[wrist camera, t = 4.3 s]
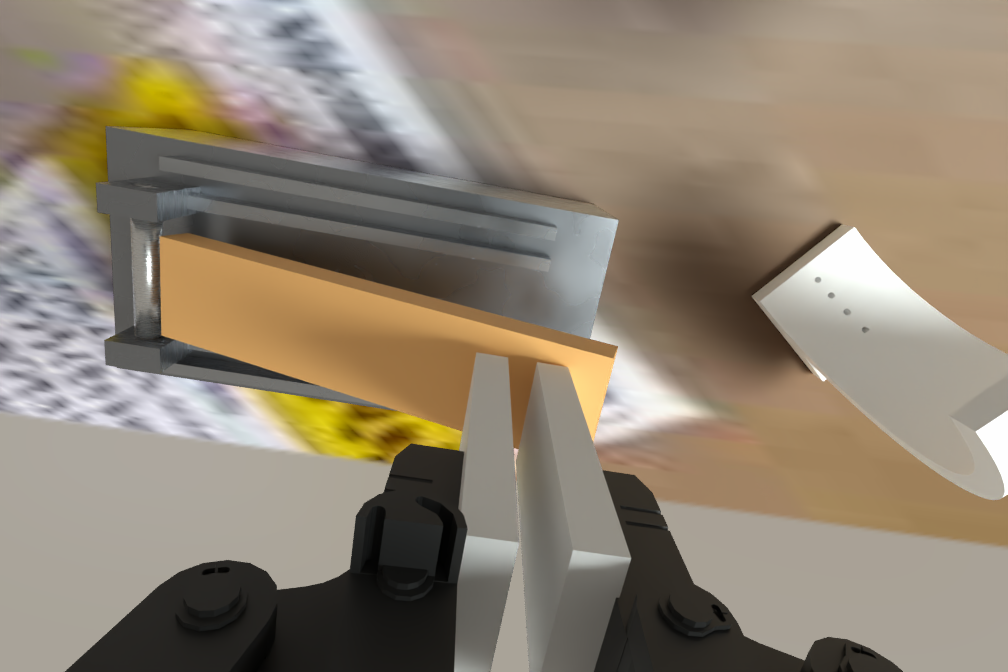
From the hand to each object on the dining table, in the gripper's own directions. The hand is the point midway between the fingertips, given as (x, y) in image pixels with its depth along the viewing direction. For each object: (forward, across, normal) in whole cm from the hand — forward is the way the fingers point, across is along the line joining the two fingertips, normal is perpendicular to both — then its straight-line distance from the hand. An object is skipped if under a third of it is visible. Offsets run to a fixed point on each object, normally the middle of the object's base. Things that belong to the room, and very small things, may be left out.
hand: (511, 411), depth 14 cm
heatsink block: (+11, -5, 0) cm, 12 cm away
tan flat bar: (+3, -4, 0) cm, 5 cm away
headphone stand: (+11, +14, +2) cm, 18 cm away
